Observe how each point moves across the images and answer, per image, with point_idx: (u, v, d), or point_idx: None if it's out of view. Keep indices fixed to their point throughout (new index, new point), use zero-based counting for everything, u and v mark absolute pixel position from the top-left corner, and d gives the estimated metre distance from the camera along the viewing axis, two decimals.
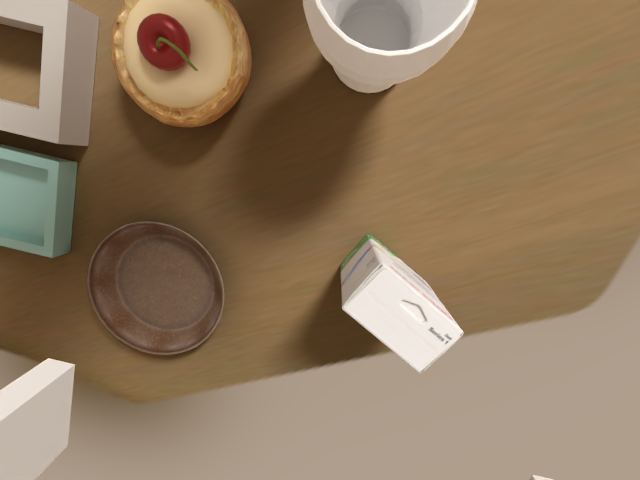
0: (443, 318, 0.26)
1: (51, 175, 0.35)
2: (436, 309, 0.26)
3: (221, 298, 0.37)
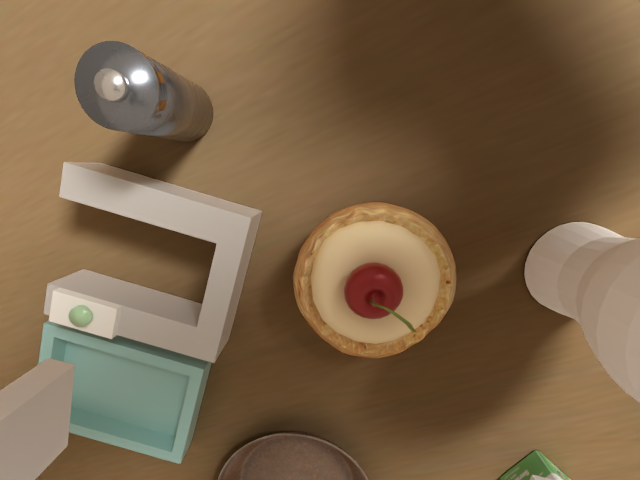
0: None
1: (192, 382, 0.30)
2: None
3: None
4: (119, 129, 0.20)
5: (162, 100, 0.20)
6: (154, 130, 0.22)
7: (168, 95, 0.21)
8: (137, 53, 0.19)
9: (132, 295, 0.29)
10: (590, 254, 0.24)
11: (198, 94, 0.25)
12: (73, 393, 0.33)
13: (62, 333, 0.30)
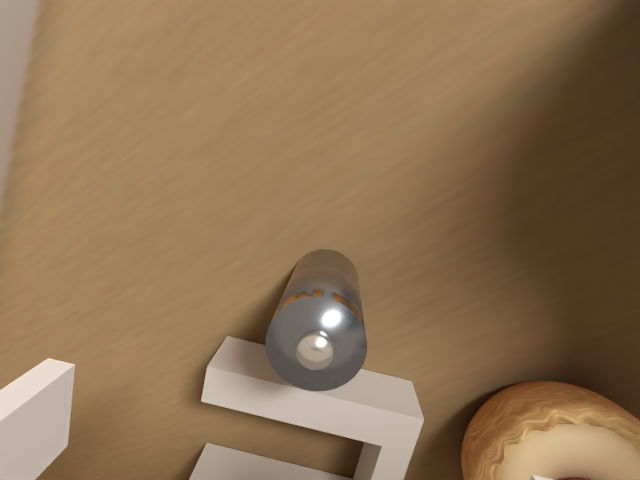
0: None
1: None
2: None
3: None
4: (317, 390, 0.16)
5: None
6: None
7: None
8: (345, 311, 0.15)
9: None
10: None
11: (356, 280, 0.22)
12: None
13: None
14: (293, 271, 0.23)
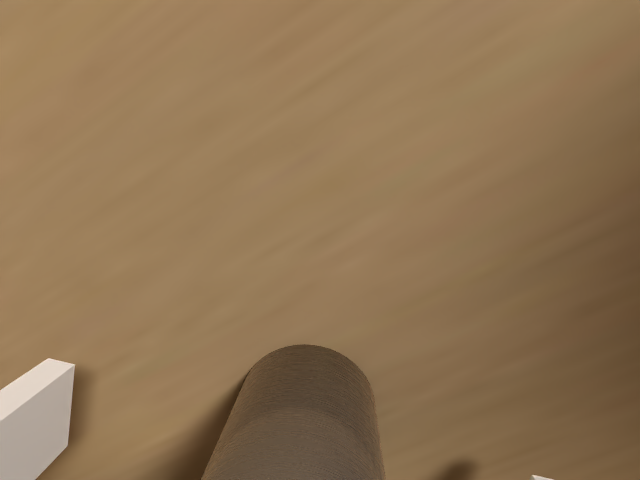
0: None
1: None
2: None
3: None
4: None
5: None
6: None
7: None
8: None
9: None
10: None
11: (376, 441, 0.09)
12: None
13: None
14: (235, 401, 0.11)
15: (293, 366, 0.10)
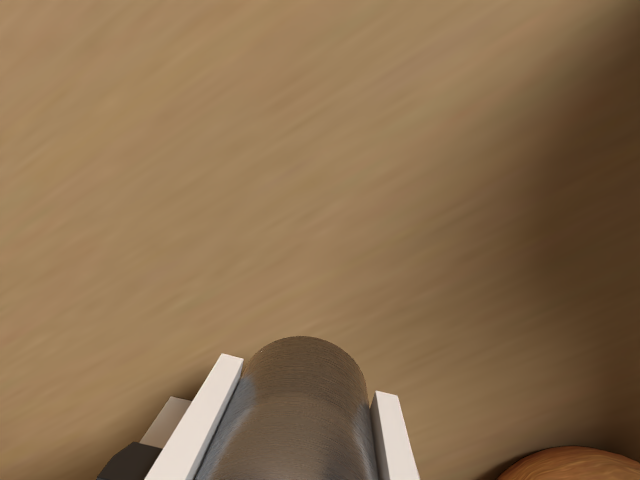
0: None
1: None
2: None
3: None
4: None
5: None
6: None
7: None
8: None
9: None
10: None
11: (367, 423, 0.10)
12: None
13: None
14: (235, 389, 0.11)
15: (289, 355, 0.11)
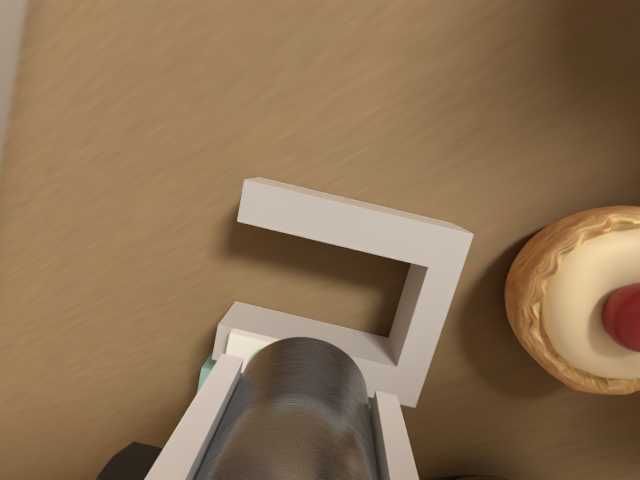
0: None
1: None
2: None
3: None
4: None
5: None
6: None
7: None
8: None
9: (305, 330, 0.25)
10: None
11: (368, 425, 0.10)
12: None
13: None
14: None
15: (289, 356, 0.11)
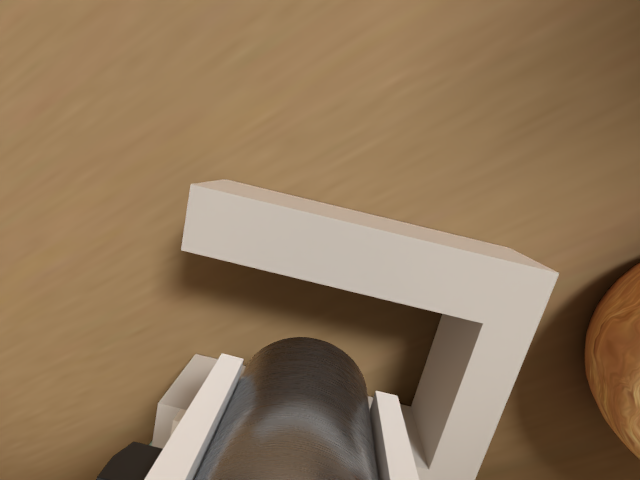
0: None
1: None
2: None
3: None
4: None
5: None
6: None
7: None
8: None
9: None
10: None
11: (368, 425, 0.10)
12: None
13: None
14: (234, 391, 0.11)
15: (289, 356, 0.11)
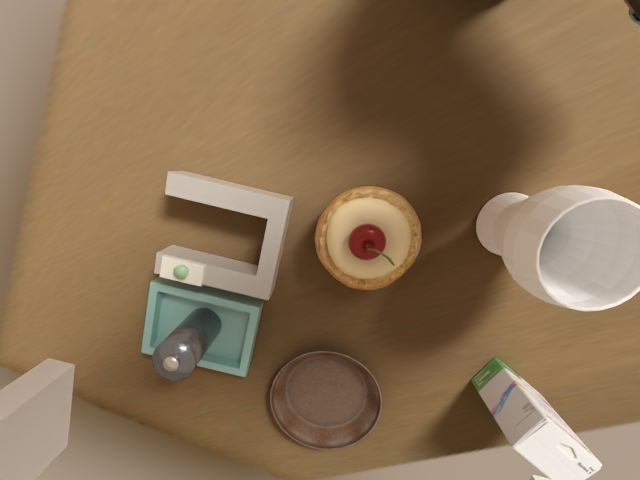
0: (589, 457, 0.35)
1: (252, 317, 0.44)
2: (583, 449, 0.36)
3: (377, 407, 0.47)
4: (175, 380, 0.38)
5: (196, 362, 0.38)
6: None
7: (199, 355, 0.39)
8: (183, 346, 0.37)
9: (209, 259, 0.43)
10: (508, 210, 0.37)
11: (212, 326, 0.44)
12: (167, 333, 0.47)
13: (163, 288, 0.44)
14: None
15: (197, 311, 0.45)
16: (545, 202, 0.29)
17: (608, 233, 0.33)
